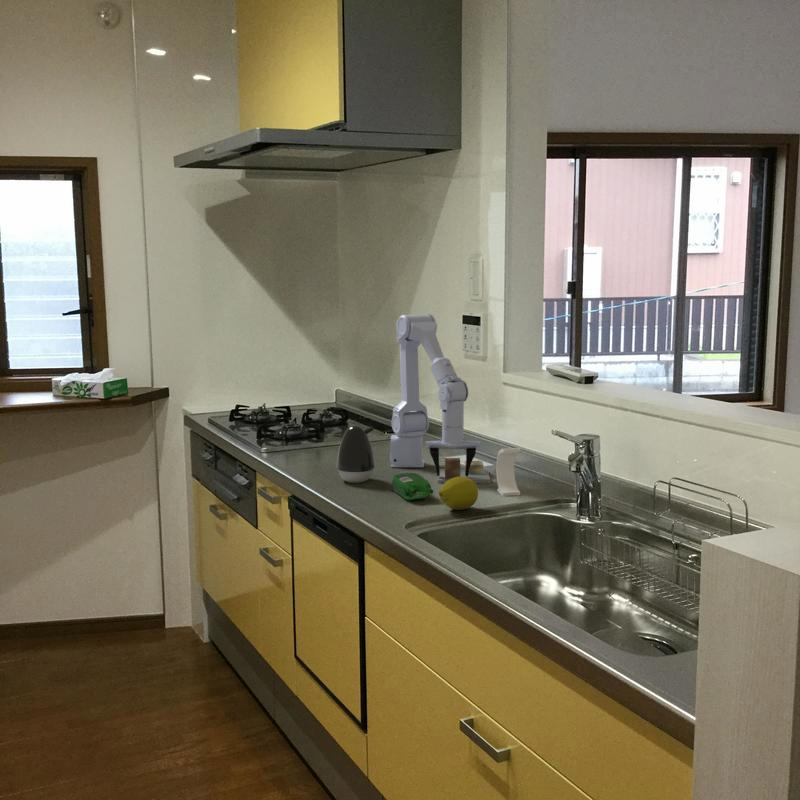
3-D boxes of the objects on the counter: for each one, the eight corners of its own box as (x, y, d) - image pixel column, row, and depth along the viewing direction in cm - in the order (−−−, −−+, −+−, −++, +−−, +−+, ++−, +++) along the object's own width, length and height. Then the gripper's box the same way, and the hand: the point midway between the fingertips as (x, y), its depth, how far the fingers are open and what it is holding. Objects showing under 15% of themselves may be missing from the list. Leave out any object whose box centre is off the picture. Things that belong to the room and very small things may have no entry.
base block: (465, 473, 260) (465, 464, 260) (464, 469, 265) (464, 460, 265) (483, 473, 260) (483, 464, 260) (482, 469, 265) (482, 460, 265)
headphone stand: (502, 496, 240) (503, 449, 238) (495, 490, 245) (496, 444, 244) (520, 495, 240) (520, 448, 239) (513, 489, 246) (513, 444, 244)
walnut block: (445, 479, 254) (445, 461, 254) (445, 475, 258) (445, 457, 258) (460, 479, 254) (460, 461, 253) (459, 475, 258) (459, 457, 257)
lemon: (470, 503, 232) (470, 471, 231) (486, 511, 225) (486, 478, 224) (430, 508, 228) (430, 475, 227) (445, 516, 221) (446, 482, 220)
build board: (437, 482, 254) (437, 479, 253) (437, 471, 267) (437, 468, 267) (490, 483, 253) (490, 480, 253) (487, 471, 267) (487, 468, 267)
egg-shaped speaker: (381, 482, 254) (381, 426, 252) (346, 486, 250) (345, 430, 247) (366, 474, 263) (365, 420, 261) (331, 478, 259) (330, 423, 256)
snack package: (406, 505, 231) (407, 484, 231) (389, 490, 246) (389, 470, 245) (434, 503, 233) (434, 482, 233) (415, 488, 248) (415, 469, 247)
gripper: (425, 428, 250) (425, 478, 252) (480, 428, 250) (480, 478, 252) (425, 423, 257) (425, 472, 259) (479, 423, 257) (479, 473, 259)
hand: (452, 475), depth 256 cm, fingers open, 7 cm apart
